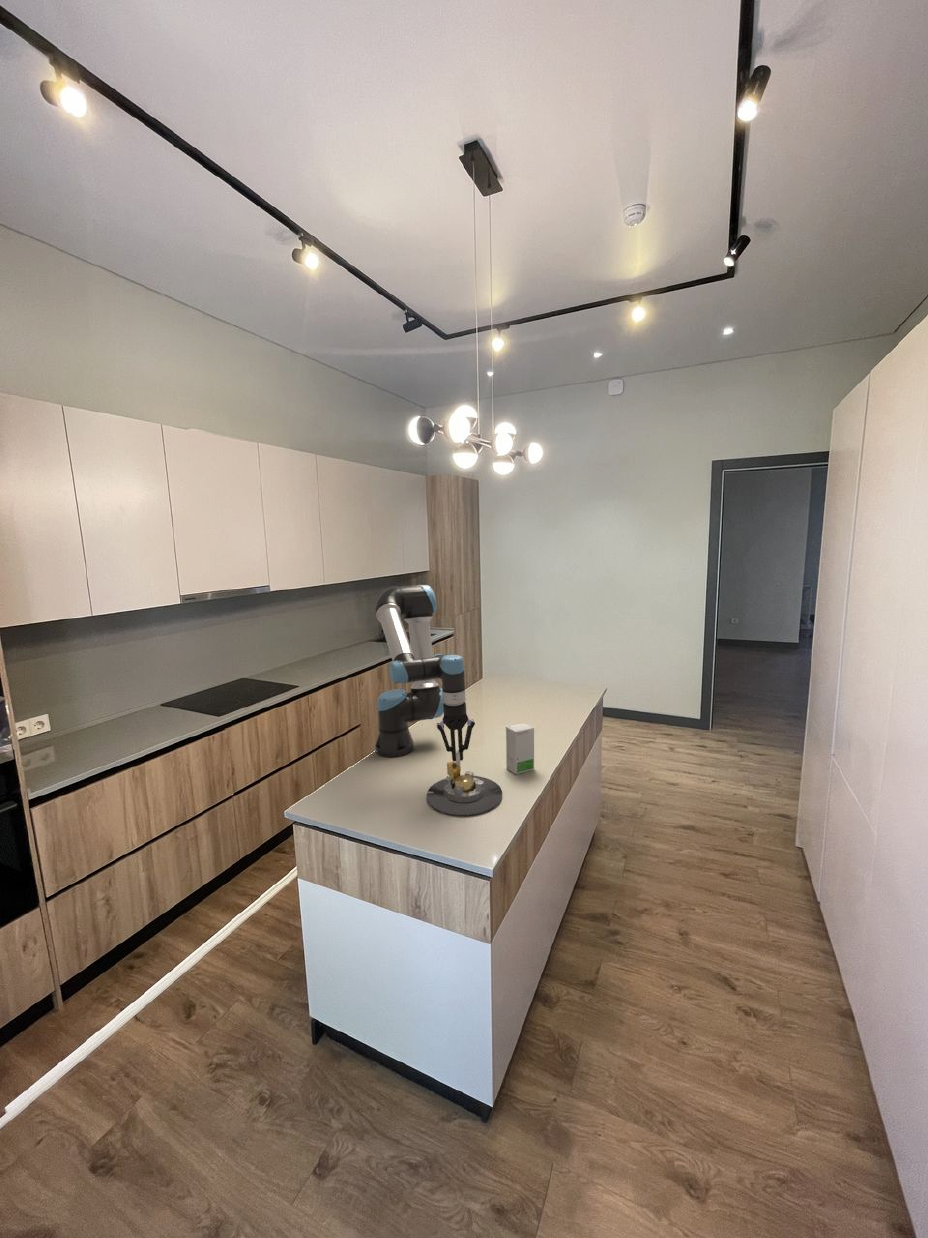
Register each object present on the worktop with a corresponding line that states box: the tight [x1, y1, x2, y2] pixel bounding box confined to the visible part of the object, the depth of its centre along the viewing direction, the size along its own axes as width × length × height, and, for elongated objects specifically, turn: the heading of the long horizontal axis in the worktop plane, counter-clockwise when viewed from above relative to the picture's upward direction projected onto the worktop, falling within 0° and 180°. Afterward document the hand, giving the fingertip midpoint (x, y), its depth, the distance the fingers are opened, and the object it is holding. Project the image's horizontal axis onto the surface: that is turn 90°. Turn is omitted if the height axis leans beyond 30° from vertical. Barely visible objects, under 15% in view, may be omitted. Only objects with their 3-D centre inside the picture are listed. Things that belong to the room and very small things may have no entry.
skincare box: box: [505, 722, 535, 775], centre depth 170 cm, size 8×7×16 cm
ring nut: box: [444, 760, 484, 802], centre depth 154 cm, size 17×13×6 cm
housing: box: [426, 774, 503, 818], centre depth 153 cm, size 24×24×6 cm
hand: (458, 769), depth 162 cm, fingers closed
